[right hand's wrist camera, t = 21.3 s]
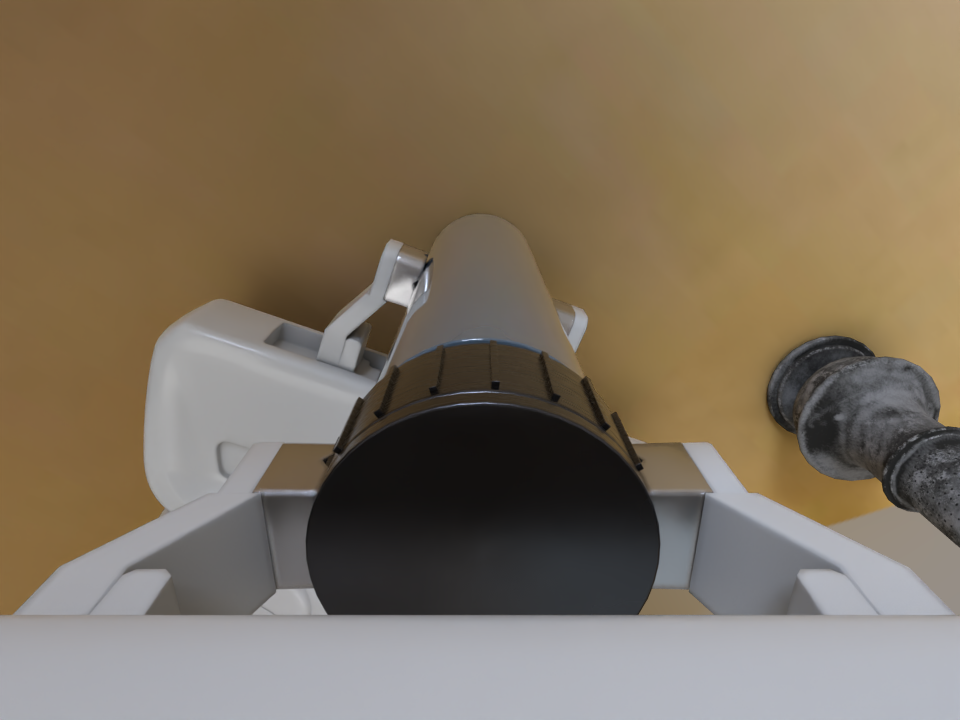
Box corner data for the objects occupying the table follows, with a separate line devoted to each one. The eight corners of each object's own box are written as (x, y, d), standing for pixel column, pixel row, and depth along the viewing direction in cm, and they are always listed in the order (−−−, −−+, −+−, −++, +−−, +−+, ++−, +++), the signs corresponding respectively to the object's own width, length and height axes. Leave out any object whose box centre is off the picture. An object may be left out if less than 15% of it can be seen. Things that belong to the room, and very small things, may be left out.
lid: (546, 280, 9) (566, 325, 7) (673, 519, 11) (721, 615, 9) (278, 424, 10) (223, 503, 8) (434, 624, 12) (423, 733, 10)
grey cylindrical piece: (512, 329, 27) (567, 661, 10) (416, 299, 26) (304, 597, 10) (547, 232, 25) (684, 437, 8) (445, 198, 25) (373, 345, 8)
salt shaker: (908, 388, 28) (1193, 559, 17) (804, 461, 29) (1001, 664, 18) (843, 304, 26) (1108, 431, 15) (736, 386, 28) (907, 557, 17)
